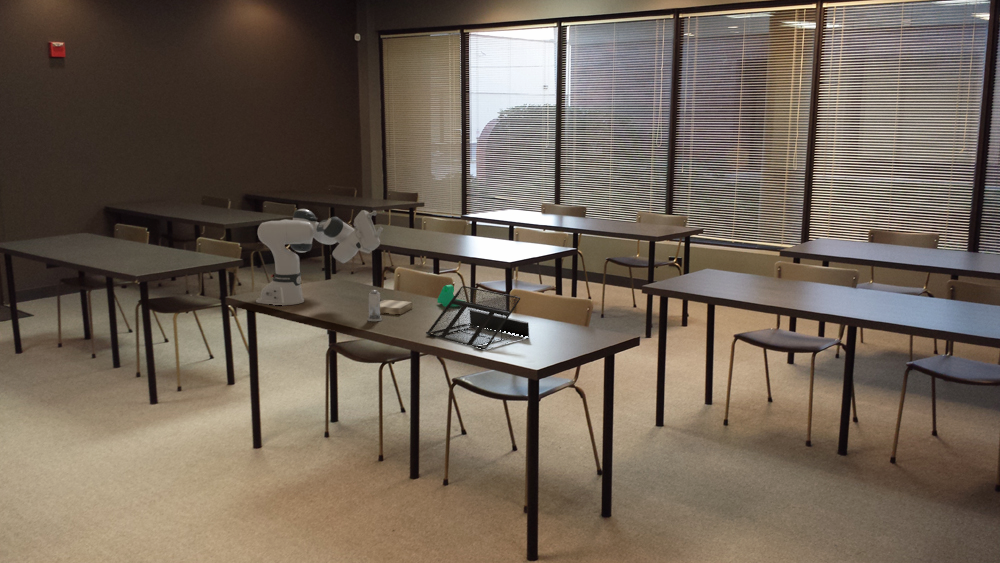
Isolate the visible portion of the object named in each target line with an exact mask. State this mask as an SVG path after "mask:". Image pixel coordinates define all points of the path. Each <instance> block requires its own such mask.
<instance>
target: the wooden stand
mask: <svg viewBox="0 0 1000 563" xmlns="http://www.w3.org/2000/svg"><path fill="white" fill-rule="evenodd" d="M412 309H413V302H412V301H406V300H405V301H403V300H393V299H384V300H381V302H380V314H384V313H389V314H388V315H395V314H400V315H403V314H404V313H407V312H409V311H410V310H412Z"/></svg>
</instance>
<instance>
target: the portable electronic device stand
mask: <svg viewBox="0 0 1000 563" xmlns="http://www.w3.org/2000/svg"><path fill="white" fill-rule="evenodd" d="M464 292H466V293H464ZM471 292H473V293H471ZM462 293H464V295H462ZM476 293H478V294H476ZM469 294H471V295H469ZM456 299H459V300H456ZM462 300H463V301H462ZM520 300H521V297H519V296H516V295H510V294H506V293H505V294H504V293H500V292H496V291H490V290H486V289H481V288H475V287H472V286H471V287H470V286H466V285H461V287H459V289H458V290H457V292H456V293H455V295H454V297H453V299H452V300H451V301H450V303H449V304H448V305H447V307H445V308H444V309H443V310H442V312H441V313H440V315H438V317H437V319H436V320H435V321H434V322H433V324H432V325H431V327H430V328H429V329H428V330H427V331H425V334H426V335H427V336H429V335H430V336H429V337H432V336H434V337H433V338H436V337H437V338H440V339H442V340H446V341H450V342H454V343H457V342H458V344H461V343H463V344H462V345H465V344H467V345H466V346H468V345H472V346H474V347H473V348H475V347H478V348H481V349H485V350H487V349H488V348H489V346H490V345H491V344H490V343H491V342H492V341H494V340H493V339H495V337H496V336H497V334H498V333H499V331H500V330H501V333H500V334H501V336H500V337H501V338H500V339H501V340H502V339H503V338H504V337H503V333H502V332H504V331H506V333H508V332H510V333H511V334H512V333H515V335H516V334H519V336H521V335H523V337H525V336H528V337H529V338H530V329H529V322H527V321H523V320H519V319H515V318H510V316H511V314H512V313H513V312H514V311H515V309H516V308H517V305H518V303H519V302H520ZM451 304H452V305H451ZM453 304H454V305H458V306H456V307H454V305H453ZM450 306H451V307H450ZM452 306H453V307H452ZM450 313H452V314H450ZM469 324H470V325H469ZM460 326H462V327H460ZM477 326H479V327H477ZM455 327H457V328H455ZM458 327H459V328H458ZM474 327H477V328H474ZM453 328H454V329H453ZM469 328H473V329H469ZM484 328H486V329H484ZM487 328H488V329H489V330H488V329H487ZM490 329H492V330H493V331H491V330H490ZM462 330H463V331H465V332H463V331H462ZM494 330H496V332H495V331H494ZM458 331H461V332H458ZM436 332H438V333H436ZM453 332H457V333H453ZM466 332H469V333H466ZM431 333H433V334H431ZM450 333H452V334H450ZM470 333H472V334H470ZM513 336H514V335H513ZM485 337H488V338H487V339H488V340H486V339H485ZM507 337H508V336H506V337H505V338H507ZM510 337H511V335H509V338H510ZM514 337H515V336H514ZM490 338H491V339H490ZM500 339H497V340H500ZM520 339H522V338H520ZM508 342H509V341H508ZM508 342H506V343H508ZM485 343H488V344H487V345H484V346H478V345H483V344H485ZM472 346H471V347H472ZM481 349H480V350H481Z"/></svg>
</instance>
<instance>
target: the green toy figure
mask: <svg viewBox="0 0 1000 563" xmlns="http://www.w3.org/2000/svg"><path fill="white" fill-rule="evenodd" d="M454 293H455V288H454V285H452V284H446V285H444V286H443V287H442V288H441V290H440V293H439V295H438V297H437V299H436V300H437V304H442V306H443V307H445V308H446V307H447V305H448V304H449V303H450V301H451V300H452V299H453V297H454V296H455V295H454ZM456 300H459V299H456ZM462 301H464V299H462ZM451 305H452V304H451ZM453 305H454V304H453ZM456 307H458V305H454V307H453V306H452V308H456ZM449 308H451V306H450V307H449Z"/></svg>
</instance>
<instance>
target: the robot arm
mask: <svg viewBox="0 0 1000 563" xmlns="http://www.w3.org/2000/svg"><path fill="white" fill-rule="evenodd" d="M377 214H378V213H377V210H372V212H369V211H368V210H365V209H364V210H363V209H362V210H360V212H359V213H358V214H357V215H356V217H354V219H353V226H354V227H352V226H350V225H349V224H348V223H346V222H344V221H343V220H342V219H341V218H339V217H338V216H332V217H329V218H328V219H322V220H321V221H320V222H318V221H317V220H319V219H318V217H316V215H315V214H314V213H313V212H312V211H311V210H308V209H306V208H299V209H297V210H295V211H294V212H293V214H292V219H281V220H270V221H265V222H264V221H263V222H261V223H260V225H259V226H258V228H257V236H258V240H259V241H260V242H261V243H262V244H264V245H265V246H266V247H267V248H268V249H269V250H270V251H271V253H272V256H273V259H274V265H275V268H274V269H275V273H273V274H270V278H272V280H271V281H270V282H269V283H268V284H267V285H265V286H264V287H262V289H261V293H260V297H259V298H256V301H255V303H257V304H264V305H269V304H273V305H272V306H275V305H282V306H291V305H293V306H294V305H298V304H302V303H304V302H305V299H304V297H303V296H304V295H303V290H302V285H301V282H302V278H301V277H302V275H301V274H302V273H301V271H300V267H301V266H300V256H299V255H298V254H297V253H306V252H310V251H312V247H313V239H315V241H317V242H318V243H320V244H323V245H327V246H328V245H329V246H331V245H334V244H336V243H338V245H337V246H336V247H335V248H334V250H333V251H332V257H333V258H334V259H335V260H336V261H338V263H341V264H345V263H347V262H348V261H350V260H352V259H353V257H355V256H356V255H357V253H358V252H359V251H360V252H362V253H365V254H371V253H372V251H375V250H376V249H377V248H378V247H379V246H380V245H381V239H380V238H379V237H380V236H381V233H382V232H383V230H384V227H383V226H381V225H380V226H378V227H377V230H376V227H375V225H374V222H373V220H372V217H373V216H374V217H376V215H377ZM285 245H290V248H291V249H292V250H290V249H287V248H286V246H285ZM293 250H294V251H296V252H297V253H296V252H294V251H293Z"/></svg>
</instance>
